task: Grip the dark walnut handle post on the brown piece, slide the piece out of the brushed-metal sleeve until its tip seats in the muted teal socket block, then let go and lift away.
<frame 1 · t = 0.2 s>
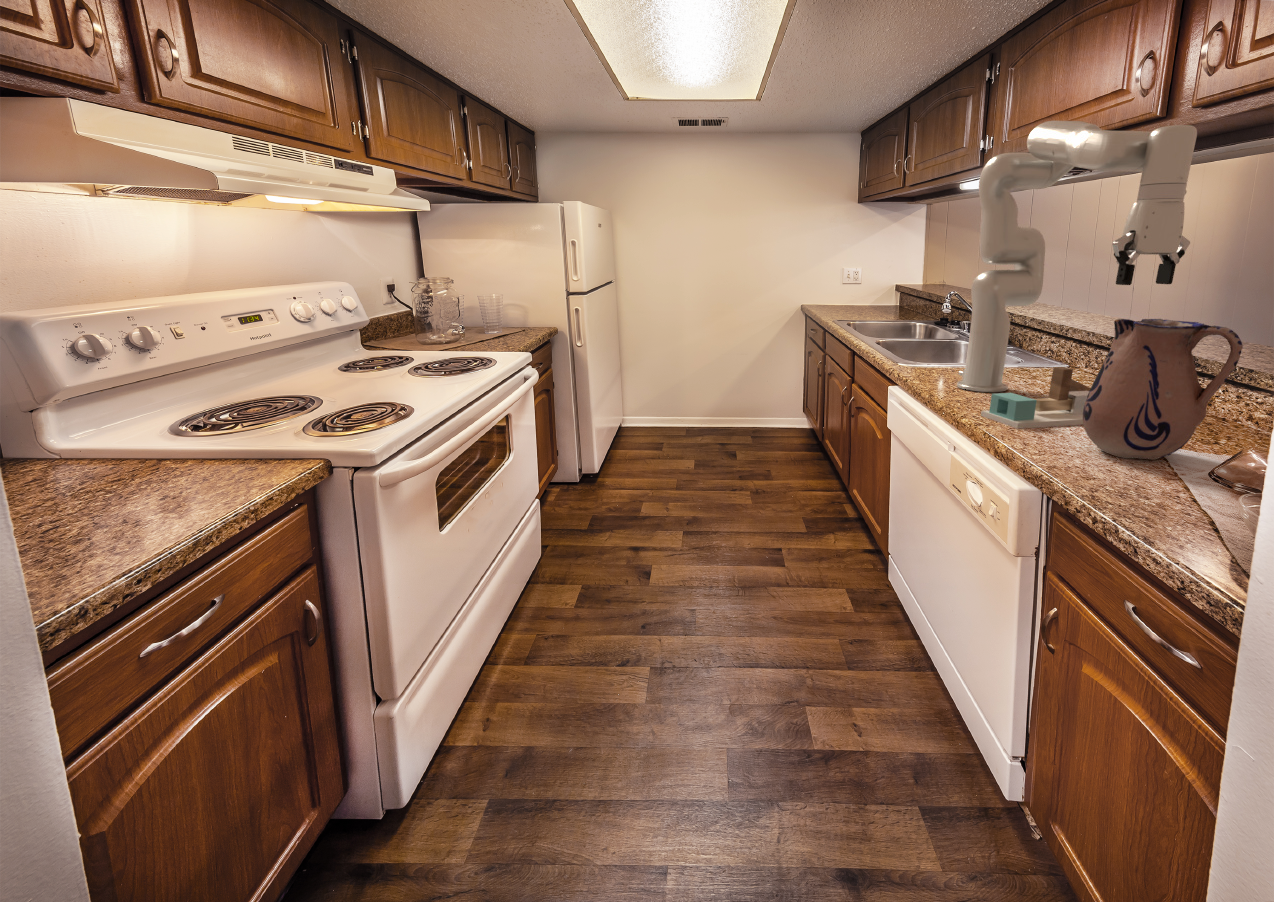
hand: (1143, 284, 141), 30 cm above the counter, tool pointing down, fingers open, 9 cm apart
sleeve: (1079, 402, 158), on the base board, point 3 cm above the counter
brown piece: (1071, 388, 156), point 7 cm above the counter, slide at 0.0 cm
socket block: (1012, 406, 155), on the base board, point 3 cm above the counter
base board: (1044, 419, 157), on the counter
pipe: (1086, 403, 175), on the counter
ceramic pitcher: (1141, 456, 131), on the counter
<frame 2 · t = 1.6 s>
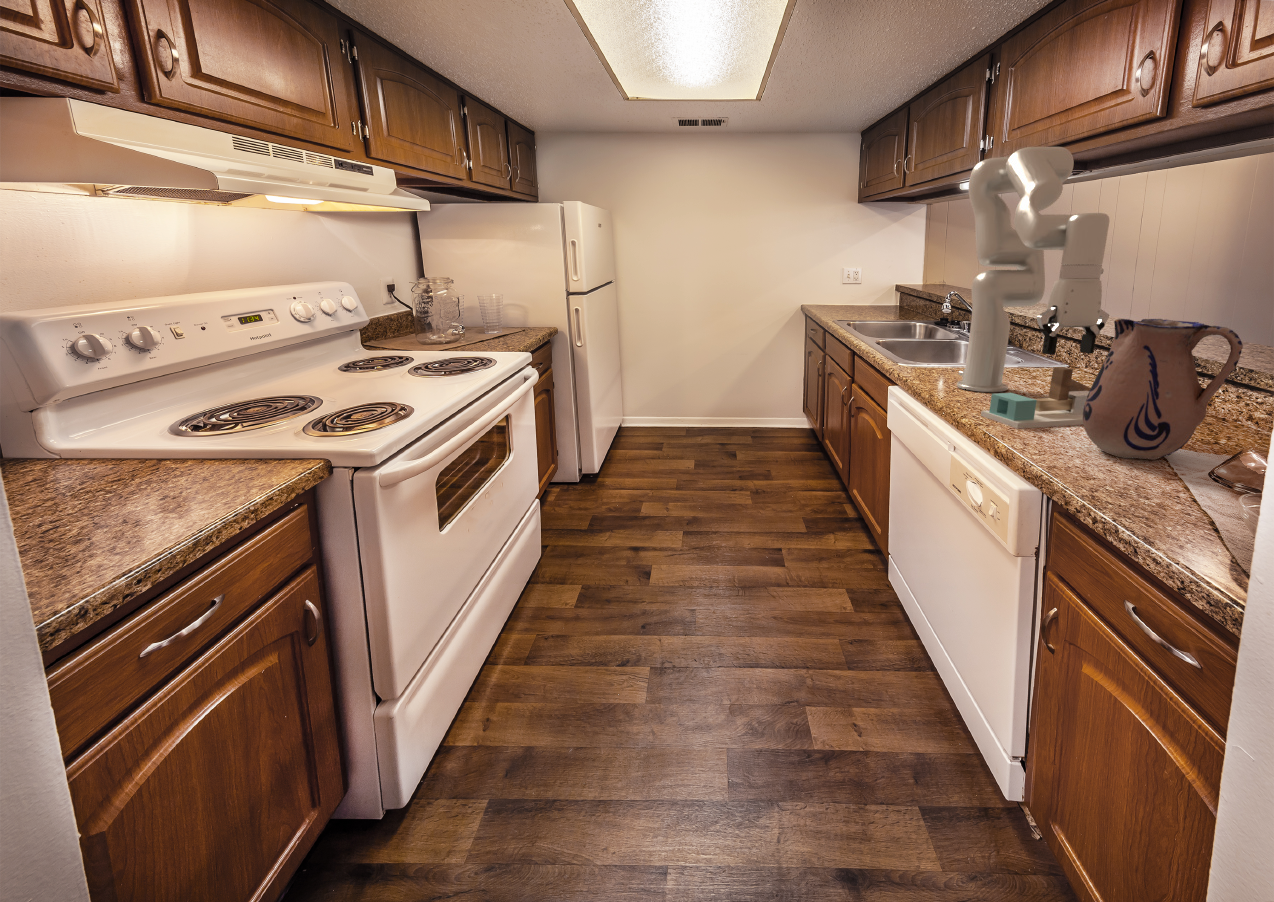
hand: (1067, 353, 153), 15 cm above the counter, tool pointing down, fingers open, 9 cm apart
nothing on the counter moved.
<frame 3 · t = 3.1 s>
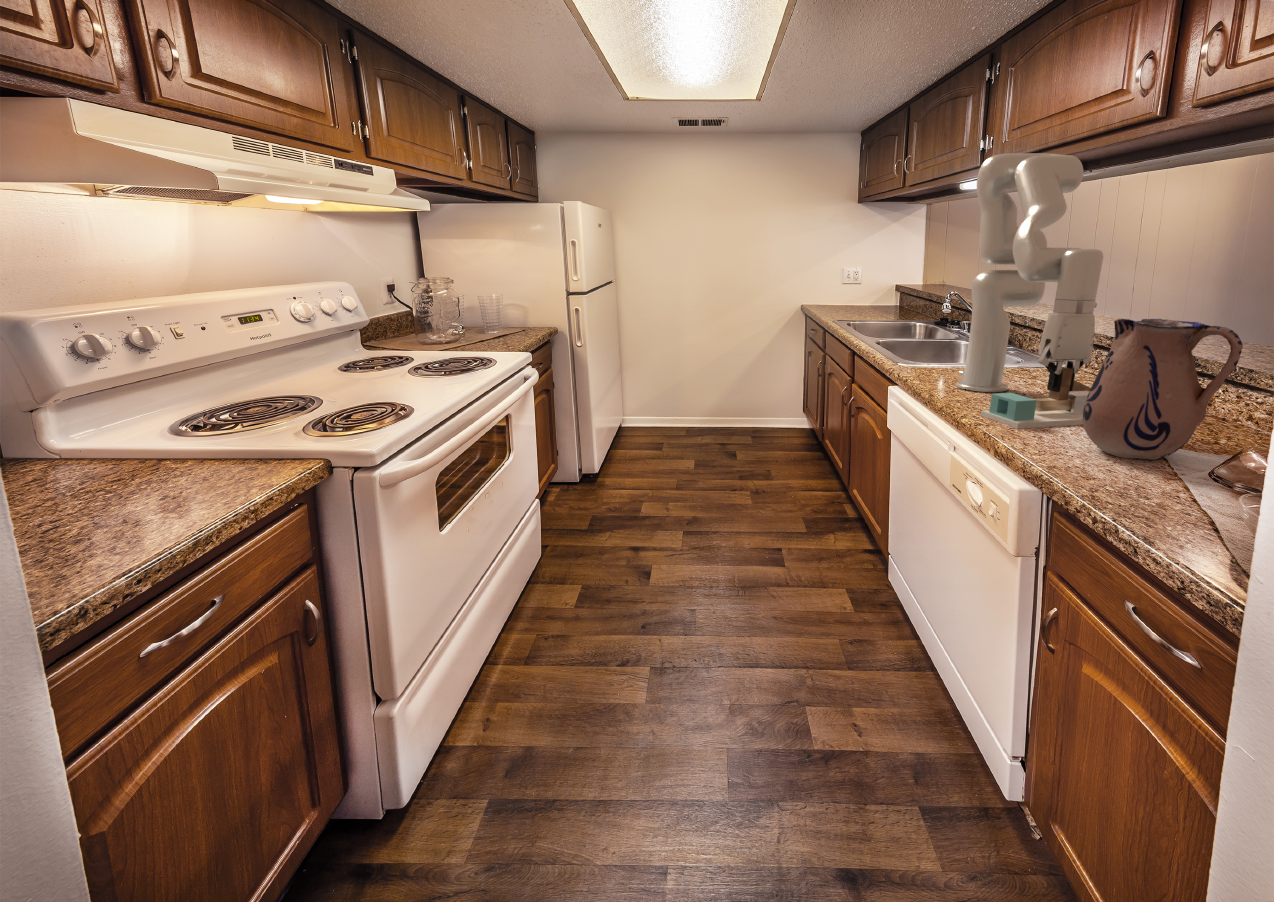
hand: (1059, 389, 156), 7 cm above the counter, tool pointing down, fingers closed on brown piece, 2 cm apart
brown piece: (1071, 388, 156), point 7 cm above the counter, slide at 0.0 cm, touching gripper
everything else where it was.
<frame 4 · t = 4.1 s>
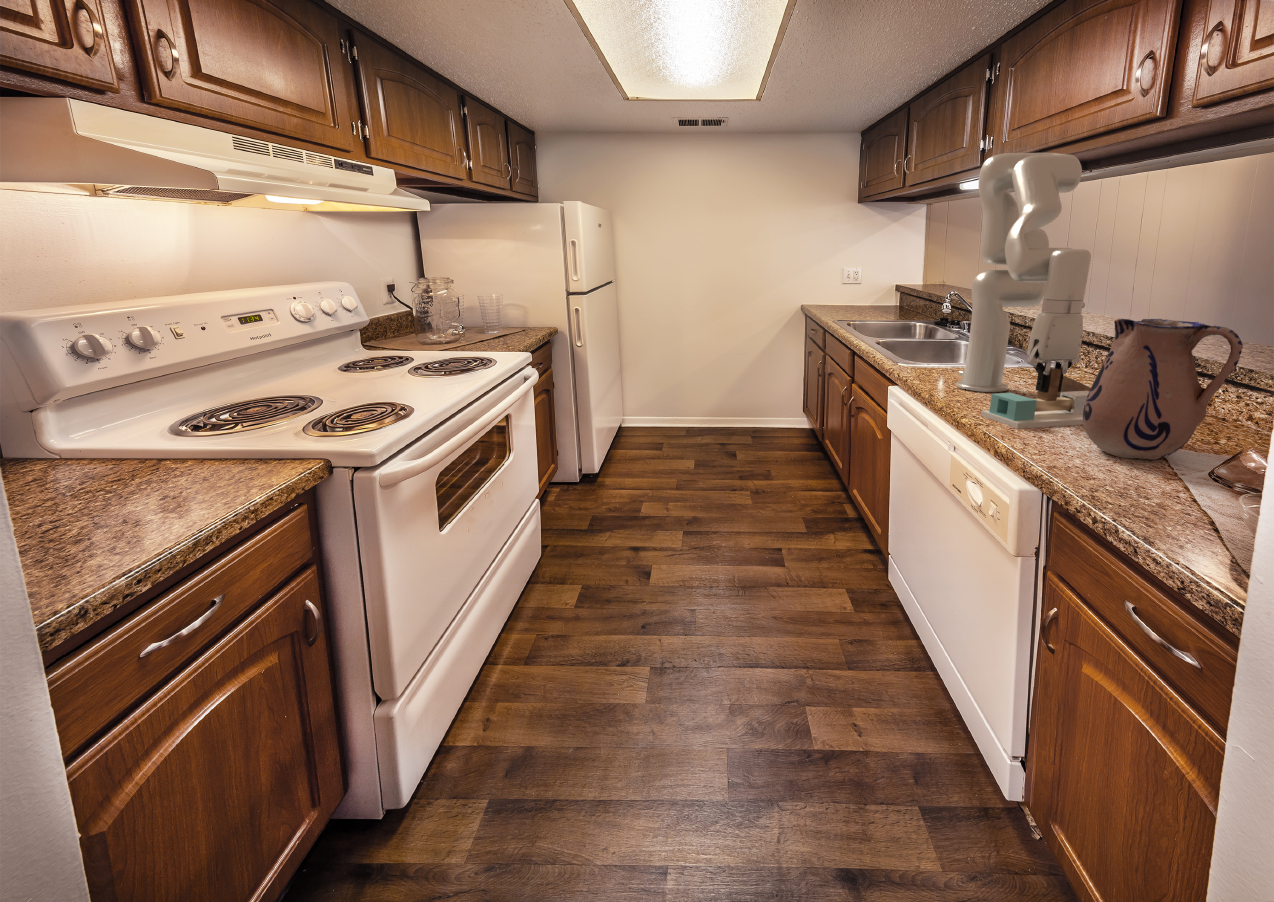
hand: (1047, 390, 155), 7 cm above the counter, tool pointing down, fingers closed on brown piece, 2 cm apart
brown piece: (1059, 388, 156), point 7 cm above the counter, slide at 3.0 cm, touching gripper
everything else where it was.
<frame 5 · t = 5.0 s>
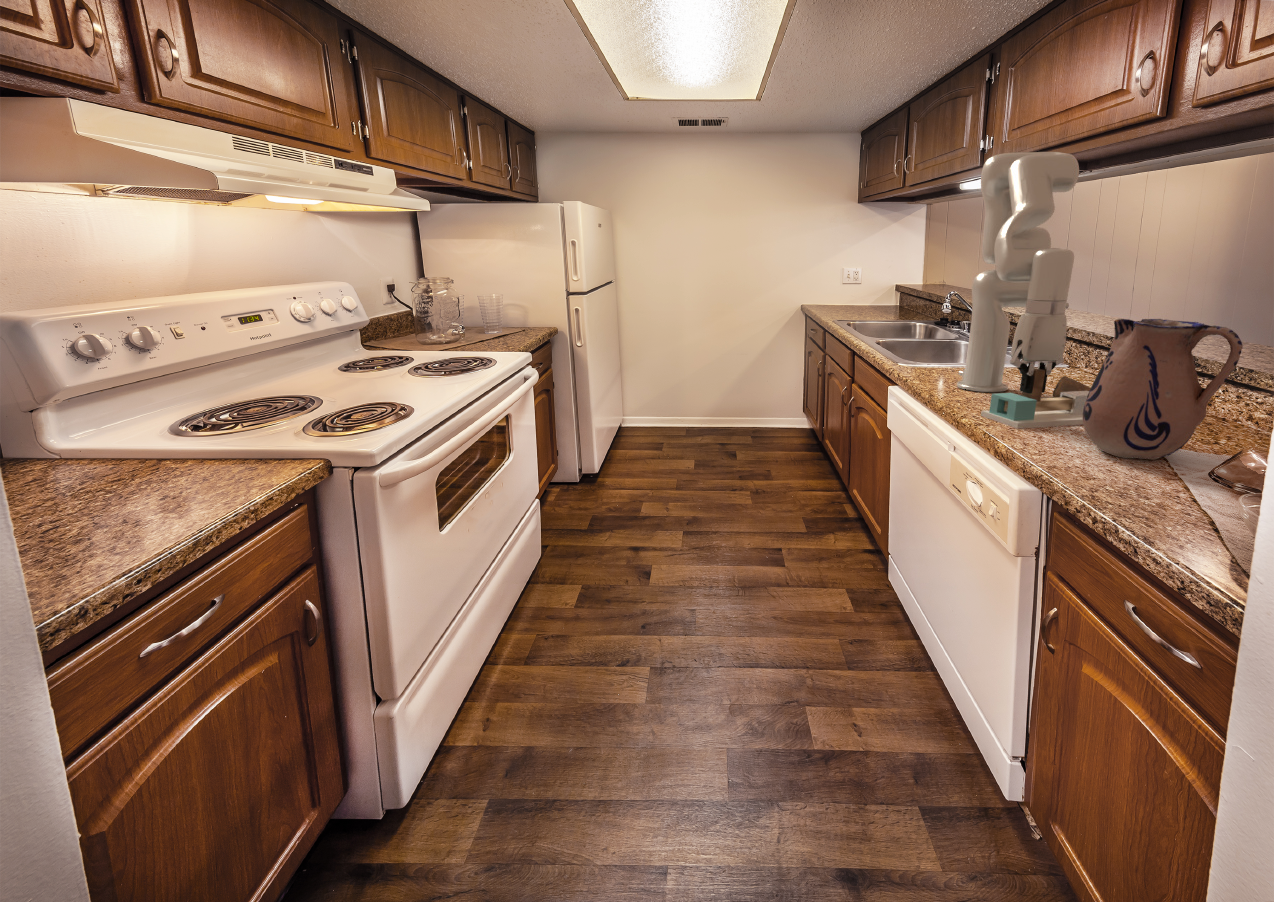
hand: (1032, 391, 155), 7 cm above the counter, tool pointing down, fingers closed on brown piece, 2 cm apart
brown piece: (1043, 389, 155), point 7 cm above the counter, slide at 7.1 cm, touching gripper
everything else where it was.
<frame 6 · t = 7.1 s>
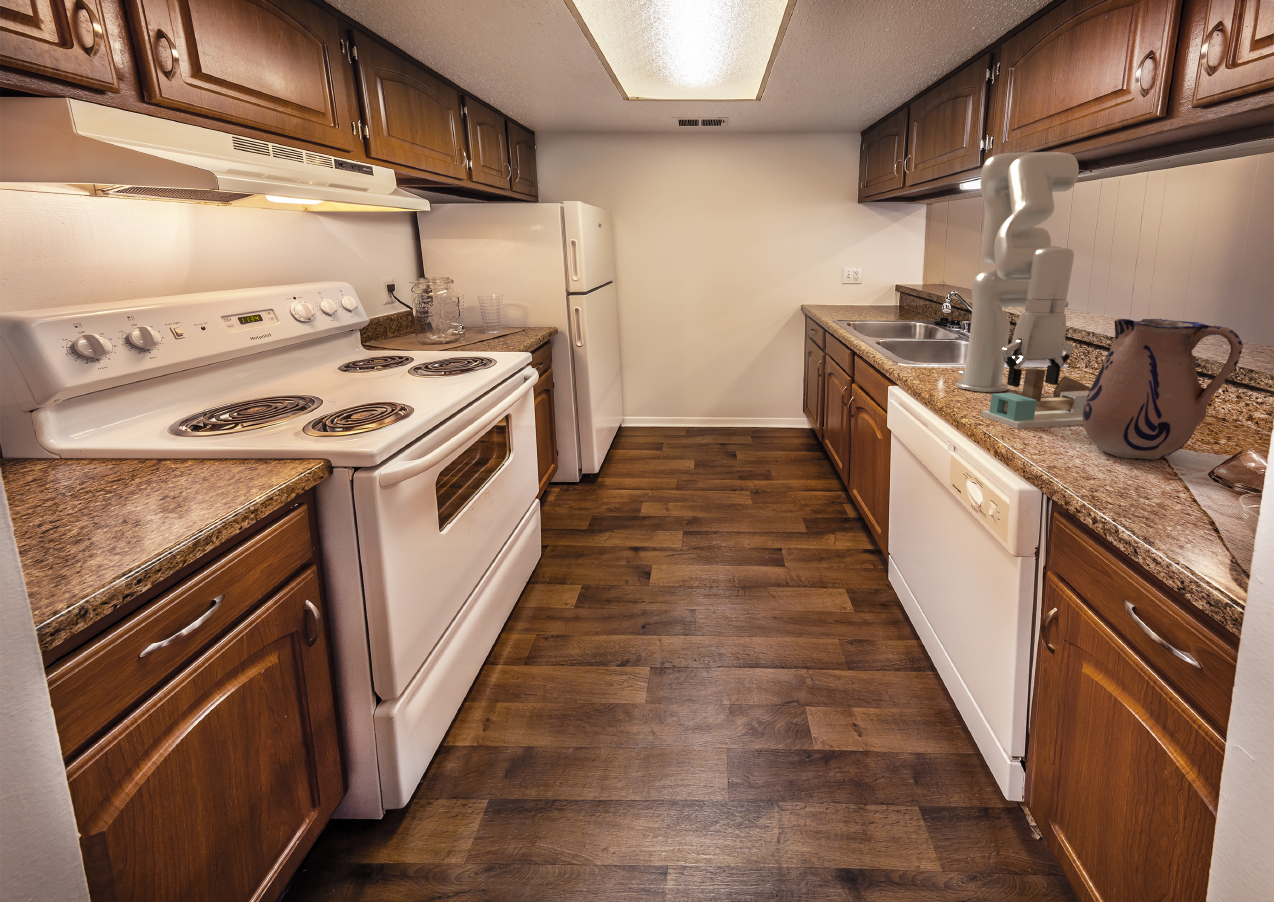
hand: (1032, 384, 154), 8 cm above the counter, tool pointing down, fingers open, 9 cm apart
brown piece: (1044, 389, 155), point 7 cm above the counter, slide at 7.0 cm
everything else where it was.
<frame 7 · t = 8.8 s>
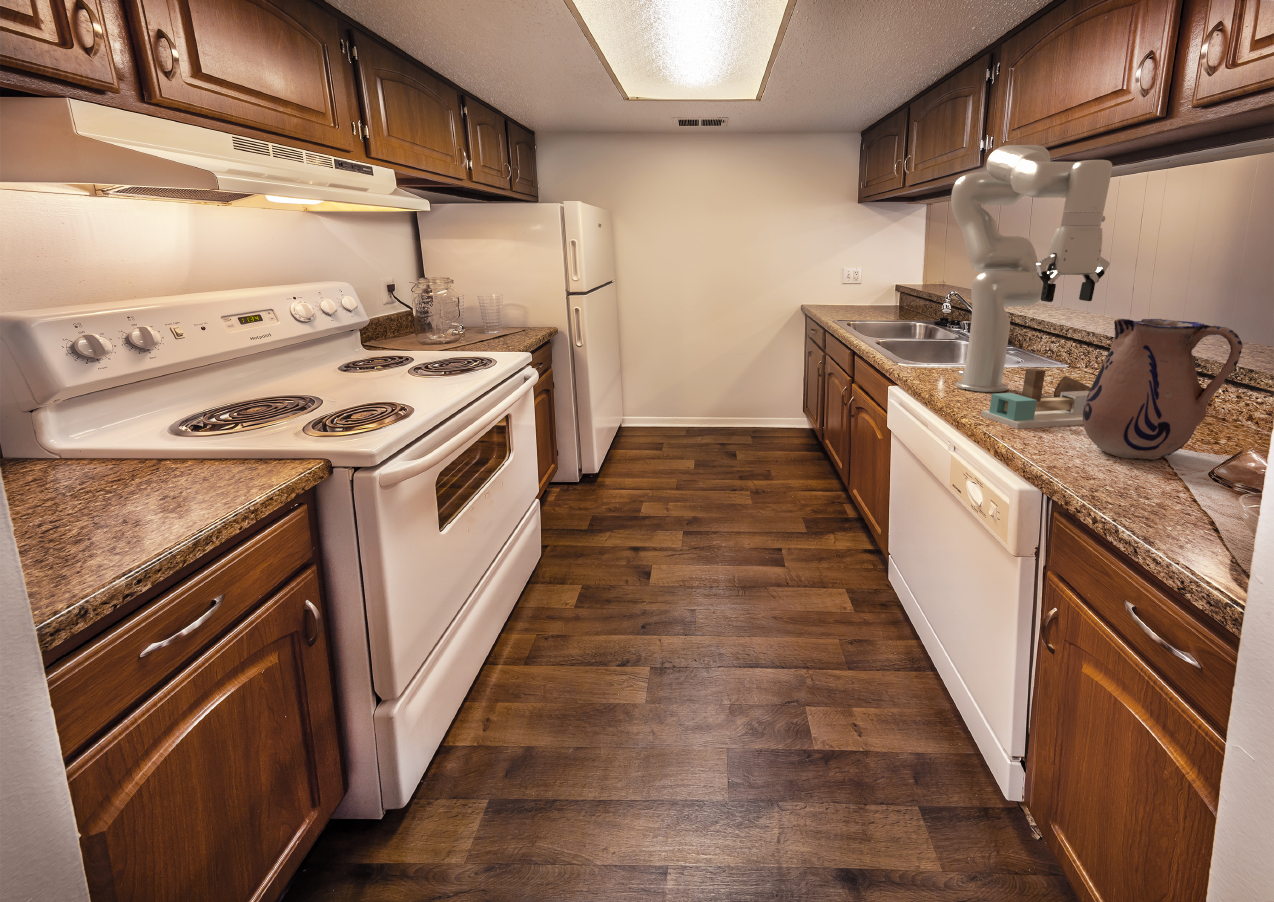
hand: (1065, 301, 156), 26 cm above the counter, tool pointing down, fingers open, 9 cm apart
nothing on the counter moved.
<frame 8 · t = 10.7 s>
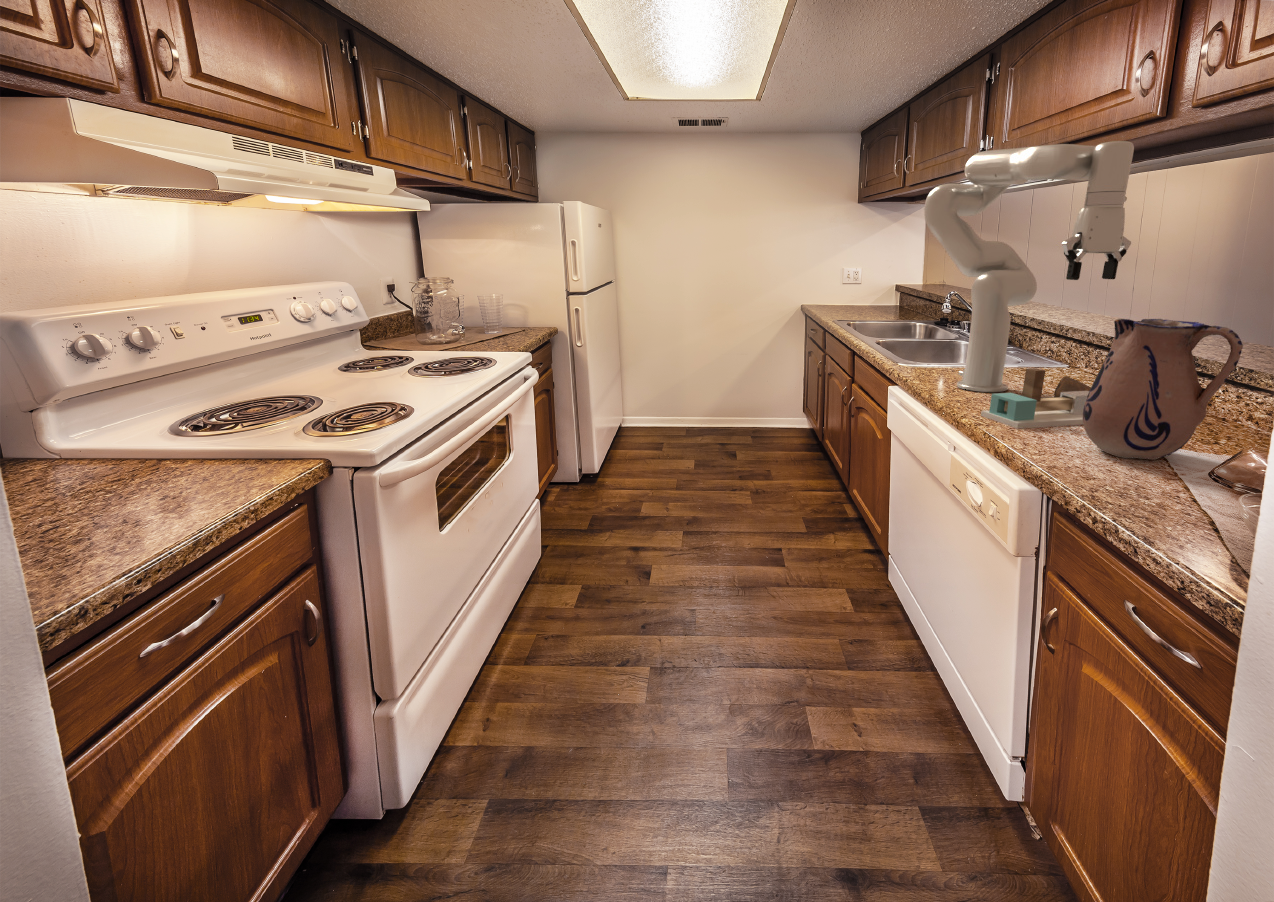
hand: (1090, 279, 161), 30 cm above the counter, tool pointing down, fingers open, 9 cm apart
nothing on the counter moved.
at the end: brown piece slide at 7.0 cm; the gripper is holding nothing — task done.
